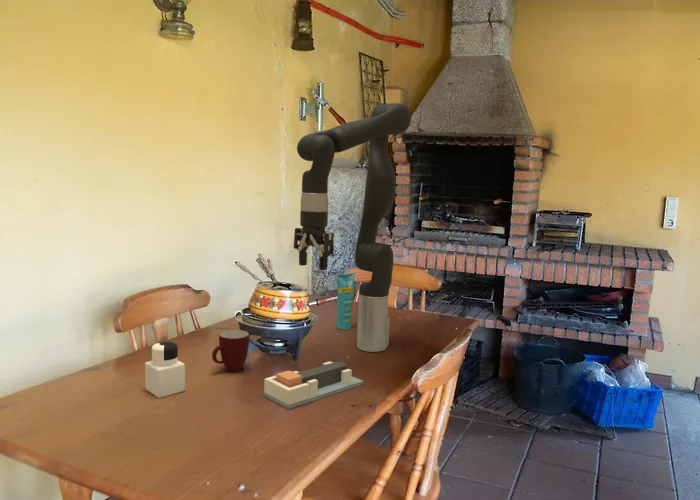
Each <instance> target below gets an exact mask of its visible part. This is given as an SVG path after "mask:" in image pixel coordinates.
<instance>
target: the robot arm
mask: <svg viewBox="0 0 700 500" xmlns="http://www.w3.org/2000/svg"><path fill="white" fill-rule="evenodd" d="M371 111H372V112H371V114H370V117H368V118H363V119H359V120H354V121H349V122H344V123H343V124H339V125H337V126H335V127H332V128H330V129H326V130H321V131H317V132H312V133H308V134H307V135H304V136H302V137H301V138H300V140H299V141H298V143H297V146H296V151H297V153H298V154H297V155H298V156H299V157H300V158H301V159H302V160H304V161H307V162H312V164H311V167H310V169H309V170H306V171H304V172H303V173H302V178H301V179H302V180H301V196H300V197H301V198H300V214H299V215H300V216H299V223H300V224H299V225H300V226H301V227H296V228H294V236H293V239H294V240H293V248H294V250H297V252H298V265H299V266H303V267H304V266H307V265H308V252H307V251H308V249H309V247H313V248H314V249H315V250H316V251H317V252H318V255H319V258H318V260H319V263H318V270H320V271H327V268H328V263H329V262H328V261H329V260H328V259H329V256H333V255H334V253H335V247H334V245H335V241H334V237H335V236H334V233H333V232H326V227H328V222H329V219H328V218H329V195H328V189H329V186H328V185H329V183H328V182H329V181H328V180H329V175H330V173H331V169H332V166H333V161H334V159H335V158H334V157H335V154H336V153H337V154H339V153H342V152H346V151H347V150H349V149H352V148H355V147H357V146H359V145H362V144H364V143H367V142H369V150H368V163H367V172H366V178H365V179H366V180H365V188H364V197H363V198H364V199H363V207H362V214H361V221H360V226H359V230H358V231H359V232H358V236H357V240H356V246H355V250H354V262H355V266H356V267H357V269H359V270H360V271H364V272H370V273H371V278H370V280H369V281H365V282H361V283H360V284H359V287H358V309H357V310H358V311H357V332H356V333H357V336H356V337H357V338H356V348H357V349H358V350H360V351H364V352H372V353H374V352H375V353H376V352H382V351H385V350H386V349H387V348H388V347H389V343H390V342H389V339H390V317H389V315H388V313H389V298H390V297H389V294H390V289H391V285H392V281H393V280H392V278H393V267H394V251H393V249H392V246H390V245H389V244H387V243H382V242H377V241H376V239H377V233H378V229H379V226H380V224H381V222H382V220H383V219H384V217H385V216H386V214H387V213H388V212H389V211H390V208H391V207H392V206H393V203H394V201H395V195H396V187H397V186H396V185H397V175H396V173H395V169H394V167H393V164H392V162H391V159H390V156H389V147H388V146H389V137H390V136H392V135H394V136H395V135H400V134H403V133H405V132H407V130H409V127H410V125H411V121H412V115H411V111H410V109H409V108H408V106H406V105H405V104H403V103H398V102H393V103H380V104H377V105H375V106H374V107H373V109H372V110H371Z"/></svg>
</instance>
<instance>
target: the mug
mask: <svg viewBox="0 0 700 500" xmlns="http://www.w3.org/2000/svg"><path fill="white" fill-rule="evenodd" d="M249 346H250V333H249V332H248V331H246V330H241V329H230V330H223V331H222V332H220V333H219V335H218V345H217V346H216V347H215V348H213V350H212V354H211V356H212V361H213V362H214V363H216V364H217V365H218V364H219V365H224V367H225V369H226V370H227V372H232V373H233V372H234V373H235V372H240V371H241V370H242V369H243V367H244V365H245V363H246V360H247V357H248V351H249ZM219 351H220V356H221V360H218V358H217V355H218V352H219Z"/></svg>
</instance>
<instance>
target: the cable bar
mask: <svg viewBox="0 0 700 500" xmlns="http://www.w3.org/2000/svg"><path fill="white" fill-rule="evenodd" d="M348 366H349V365H348V364H346V363H344V362H341V361H339V360H338V361H335V362H333V363H331V364H327V365H324V366H323V365H321V366H318V367H314V368H310V369H306V370H303V371H300V372H299V373H294V371H291V370H286V371H285V370H284V371H282V372H278V373H276V374H275V376H276V381H277V382H279V383H281V384H283V385H285V386H287V387H289V388H291V387H294V386H297V385H301V384H304V383H307V381H310V380H313V379H316V380H318V389H319V388H322V387H325V386H328V385H331V384H335V383H338V382H341V372H342V371H343V370H346V369H348Z"/></svg>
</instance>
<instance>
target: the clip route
mask: <svg viewBox="0 0 700 500" xmlns="http://www.w3.org/2000/svg"><path fill="white" fill-rule="evenodd" d="M331 363H334V362H332V361H326V362H324V363H322V366H324V365H327V364H331ZM352 371H353V370H352V369H350V368H347V369H346V370H343V371H342V372H341V382H338V383H335V384H331V385H328V386H325V387H322V388H319V389H318V380H316V379H313V380H310V381H307V383H304V384H301V385H297V386H294V387H291V388H289V387H287V386H285V385H283V384H281V383H279V382H277V381H276V375H272V376H269V377H266V378H264V381H263V382H264V383H263V384H264V385H263V386H264V390H263V397H265V398H266V399H268V400H271V401H272V402H274V403H276V404H278V405H280V406H281V407H284V408H285V409H287V410H292V409H294V408H297V407H299V406H303V405H305V404H309V403H311V402H314V401H318V400H320V399H324V398H326V397H330V396H333V395H335V394H339V393H341V392H345V391H347V390H351V389H354V388H357V387H359V386H362V385H364V380H362V379H360V378H357V377H354V376H352V375H353V373H352ZM293 372H294V373H300V372H299V371H297V370H295V371H293Z"/></svg>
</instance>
